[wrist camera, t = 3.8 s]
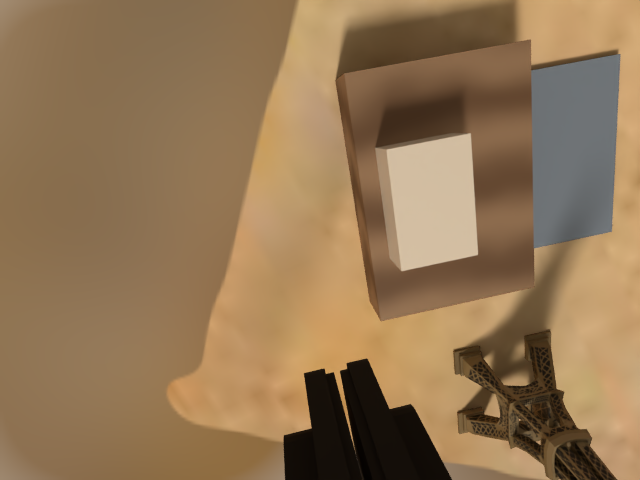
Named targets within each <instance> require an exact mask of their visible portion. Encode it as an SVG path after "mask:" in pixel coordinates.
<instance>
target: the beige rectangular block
mask: <svg viewBox="0 0 640 480" xmlns="http://www.w3.org/2000/svg"><path fill="white" fill-rule="evenodd" d="M375 151H376V158H377V166H378V173H379V181H380V188H381V196H382V203H383V211H384V218H385V226H386V233H387V241H388V248H389V256H390V259H391V260H392V261H393V262H394V264H395V265H396V266H397V267H398V268H399V269H400V270H401V271H406V270H410V269H415V268H420V267H424V266H429V265H434V264H438V263H443V262H448V261H452V260H457V259H461V258H466V257H471V256H475V255H478V245H477V228H476V211H475V195H474V178H473V161H472V145H471V133H449V134H444V135H439V136H434V137H428V138H423V139H418V140H413V141H408V142H403V143H397V144H392V145H387V146H382V147H377V148H375Z"/></svg>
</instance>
